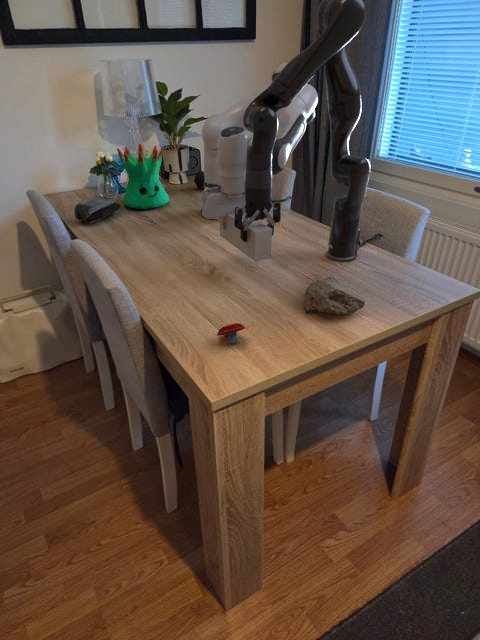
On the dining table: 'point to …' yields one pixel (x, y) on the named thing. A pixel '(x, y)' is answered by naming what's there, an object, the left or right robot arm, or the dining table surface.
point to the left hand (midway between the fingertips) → (232, 227)
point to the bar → (249, 238)
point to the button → (231, 331)
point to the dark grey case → (95, 209)
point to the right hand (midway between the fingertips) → (257, 239)
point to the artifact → (331, 297)
